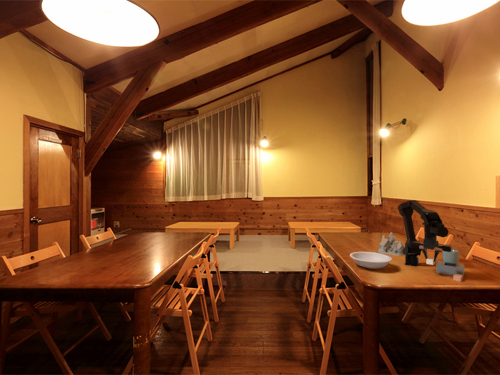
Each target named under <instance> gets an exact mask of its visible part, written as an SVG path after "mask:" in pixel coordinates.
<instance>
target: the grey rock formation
mask: <svg viewBox="0 0 500 375" xmlns="http://www.w3.org/2000/svg"><path fill="white" fill-rule="evenodd" d="M393 234H394V233H393V232H390V233H389V235H388V237H387V238H386V235H382V238H381V242H379V244H378V245H379V246H378V250H377V253H380V254H384V255H390V256H391V255H392V256H398V257H400V256H405V255H404V254H403V252H402V250H403V249H404V247H405V245H403V242H402V241H398V240H397V238H396V236H395V235H393Z"/></svg>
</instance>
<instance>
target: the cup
mask: <svg viewBox="0 0 500 375" xmlns="http://www.w3.org/2000/svg"><path fill="white" fill-rule="evenodd" d="M442 261H444V262H450V263H457V264H460V263H459V262H460V251H459V250H457V249H453V248H452V251H451V252H445V251H443V250H442Z"/></svg>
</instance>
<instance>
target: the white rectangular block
mask: <svg viewBox="0 0 500 375" xmlns="http://www.w3.org/2000/svg"><path fill="white" fill-rule="evenodd" d="M425 261H426V265H432V266H433V265H435V264H436V261H435V262H434V257H428V258H427V259H426V258H425Z"/></svg>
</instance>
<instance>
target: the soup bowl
mask: <svg viewBox="0 0 500 375" xmlns="http://www.w3.org/2000/svg"><path fill="white" fill-rule="evenodd" d="M349 258H352V259H353V261H354V262H355V263H356V264H357V265H358V266H360V267H362V268H367V269H376V270H377V269H382V268H384V267H386V266H387V265H388V264H389V263H390V262H392V261H393V258H392V257H391V255H388V254H384V253H380V252H374V251H355V252H351V253H350V254H349Z"/></svg>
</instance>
